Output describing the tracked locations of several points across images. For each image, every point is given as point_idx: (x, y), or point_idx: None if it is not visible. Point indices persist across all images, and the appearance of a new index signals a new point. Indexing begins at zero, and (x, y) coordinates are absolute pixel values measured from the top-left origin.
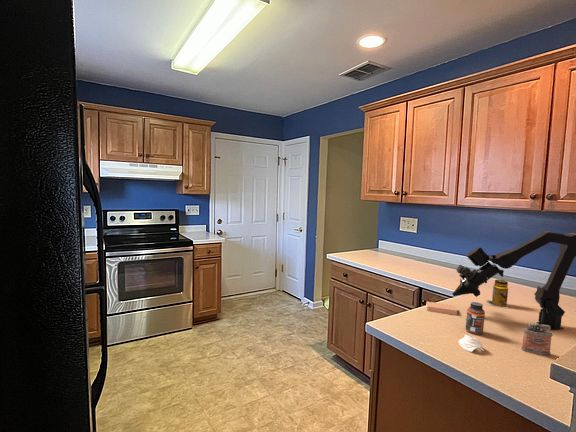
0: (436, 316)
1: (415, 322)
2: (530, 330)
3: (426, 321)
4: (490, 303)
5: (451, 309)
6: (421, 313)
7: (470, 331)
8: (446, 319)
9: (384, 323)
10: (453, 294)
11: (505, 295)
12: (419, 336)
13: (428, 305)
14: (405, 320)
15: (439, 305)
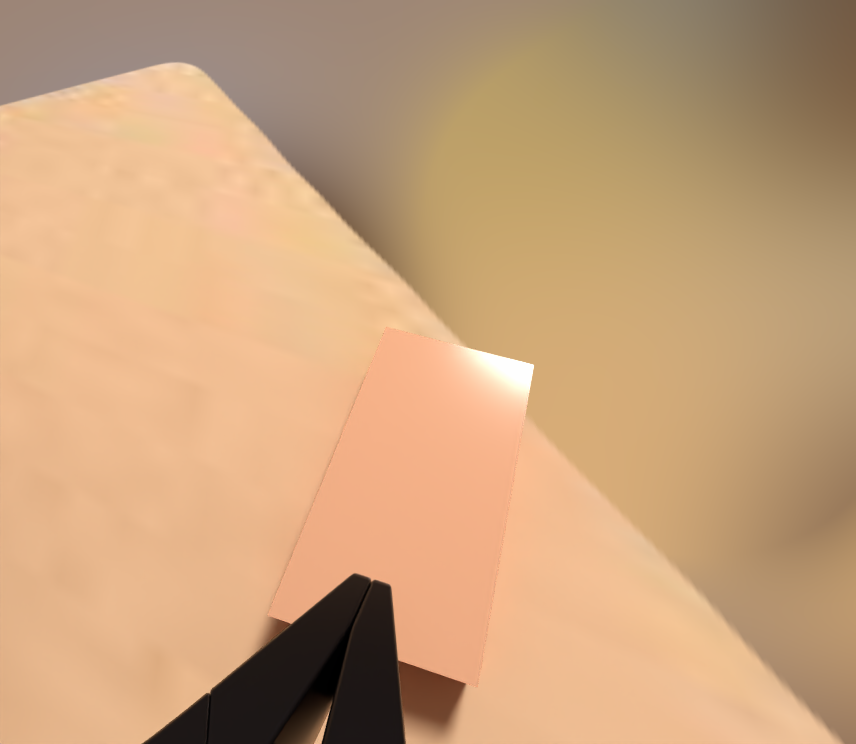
0: (258, 379)
1: (164, 215)
2: None
3: (168, 277)
4: None
5: (310, 551)
6: (323, 292)
7: None
8: (182, 440)
9: (179, 98)
10: (343, 591)
11: None
12: None
13: (412, 344)
14: (204, 178)
15: (431, 453)
